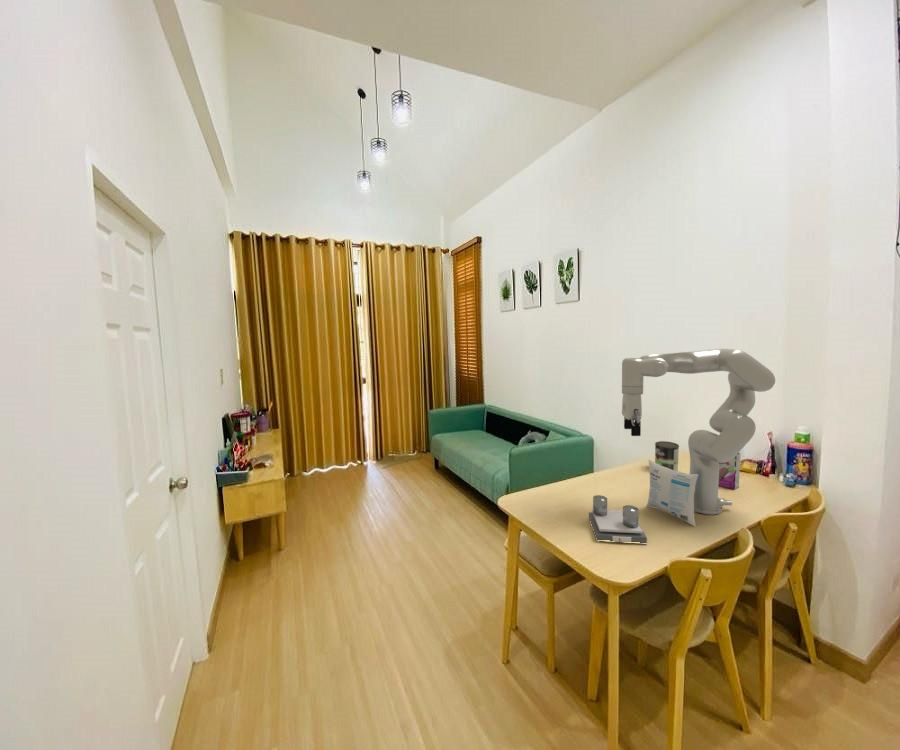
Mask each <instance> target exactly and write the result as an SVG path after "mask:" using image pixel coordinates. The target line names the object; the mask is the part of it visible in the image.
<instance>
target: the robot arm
mask: <svg viewBox="0 0 900 750" xmlns="http://www.w3.org/2000/svg"><path fill="white" fill-rule="evenodd" d="M712 372H728V375H727V381H728V383H729V394H728V396H727V398H726V399H725V400H724V402H723V403H722V404H721V405H720V406H719V407H718V408H717V410H716V411H715V412H714V413H713V415H712V416H710V418H709V422H708V424H709V426H710V428H711V429H712V430H714V431H716V432H717V433H719V434H717V433H714V432H711V431H709V430H708V429H707V430H705V429H697V430H694V431H693V432H691V434H689V436H688V440H687V441H688V442H687V445H688V446H687V447H688V451H689V458H690V459H689V461H690V462H689V474H698V478H697V480H696V484H695V492H694V513H699V514H702V515H709V516H711V515H712V516H715V515H719V514H722V513H723V506H732V505H733V502H732V500H729V499H725V498H724V497H719V487H720V486H719V463H725V462H728V461H730V460H731V459H733V458H734V457H735V456H736V455H737V454H738V453H739V452H740V453H741V451H742V449H743V448H744V447H745V446H746V445H747V444H748V443H749V442H750V441H751V440H752V438H753V437H754V436H755V433H756V428H757V427H756V426H757V425H756V422H755V421H754V419H752V418H751V417H750V416H748V415H749V413H750V412H751V411H752V410H753V408H754V406H755V405H756V392H759V393H762V392H763V393H764V392H767V391H769V390H772V388H773V387H774V386H775V383H776V377H775V374H774V373H773V372H772V370H770V369H769V368H768V367H767V366H765V365H764V364H762V363H761V362H759V360H757V359H756V358H755V357H753V356H752V355H750V354H749V353H747V352H746V351H743V350H742V349H733V348H732V349H731V348H730V349H729V348H715V349H706V350H705V349H704V350H695V351H681V352H674V353H673V352H671V353H670V352H669V353H658V354H657V353H656V354H648V355H642V356H640V357H627V358H624V359H622V362H621V394H622V400H621V414H622V415H621V416H622V417H623V418H624V420H623V429H624V430H630V436H632V437H640V436H641V433H642V431H641V429H642V428H641V427H642V424H641V423H642V421H641V419H642V414H643V413H642V395H644V377H650V378H651V377H653V378H659V377H662V376H664V375H666V374H667V373H678V374H686V375H687V374H688V375H689V374H692V375H694V374H701V373H712Z"/></svg>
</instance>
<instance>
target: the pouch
mask: <svg viewBox="0 0 900 750" xmlns="http://www.w3.org/2000/svg"><path fill="white" fill-rule="evenodd" d="M648 466H649V491H648V499H647V504H646V507H651V508H655V509H658V510H661V511H664V512H666V513H669V514H671V515H673V516H675V517H677V518H678V519H681V520H683V521H685V522H687V523H688V524H690V525H691V526H693V527H694V528H696V520H695V519H696V518H695V511H694V492H695V484H696V480H697V478H698V474H690V473H686V472H682V471H679V470H678V471H674V470H671V469H669V468H666V467H664V466H661V465H659V464H657V463H655V461H653V460H652V459H648Z"/></svg>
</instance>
